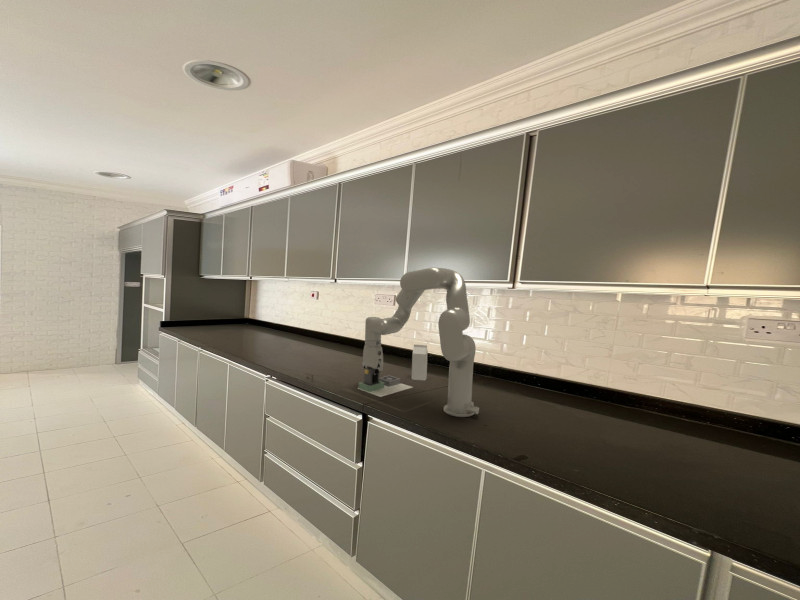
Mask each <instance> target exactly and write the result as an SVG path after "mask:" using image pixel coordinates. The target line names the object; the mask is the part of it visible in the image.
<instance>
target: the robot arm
mask: <svg viewBox="0 0 800 600" xmlns="http://www.w3.org/2000/svg"><path fill="white" fill-rule="evenodd" d="M399 284H400V288H401V289H400V291H399V292H398V294H397V295H396V297H395V302H396V303H397V305H398V307H397V309H396V311H395V312H394V314H393V315H392V316H391V317H386V318H385V317H384V318H381V317H378V316H368V317H366V319H365V326H364V327H365V328H364V329H365V330H364V331H365V332H364V346H363V351H362V362H361V366H362V367H363V368H364V369H363V370H365V368H369V367H370V368H373V374H374V375H372V383H377V382H378V374H379V373H381V372H383V370H384V367H383V366H384V353H383V347H382V336H388V335H393V334H396V333H399V332H400V331H401V330H402V329H403V328H404V326H405V325H406V323H407V322H408V321H409V319H410V316H411V313H412V308H413V307H414V305H416V303H417V301H419V299H420V297H421V296H422V295H423V293H424V292H425V291H428V290H436V289H437V290H438V289H439V290H440V289H443V290H446V296H445V301H446V310H444V311H443V312H441V314H440V315H439V317H438V322H437V323H438V335H439V345H440V350H441V351H440V352H441V354H442V356H443V358H445V360H446V361H449V365H448V366H449V367H448V368H449V369H448V384H447V385H448V387H447V404H444V406H443V412H444V413H445V414H447V415H449V416H452V417H457V418H467V417H472V416H474V415H478V414H479V412H480V407H478V406H474V402H475V401H472V397H473V396H472V395H473V377H474V376H473V375H474V363H475V356H476V342H475V340H474V339H473V338H472V337H471V336H470V335H468V334H464V333H463V331H465V330H467V329H468V328H469V327H470V324H471V317H470V310H469V302H468V296H467V295H468V293H467V286H466V282H465V279H464V278H463V276H462V274H460V273H459V272H458V271H455V270H453V269H450V268H443V267H429V268H428V267H427V268H422V269H418V270H412V271H407V272H406V273H404V274H403V275H402V276H401V278H400V280H399ZM375 369H376V370H375ZM379 375H380V374H379Z"/></svg>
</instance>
